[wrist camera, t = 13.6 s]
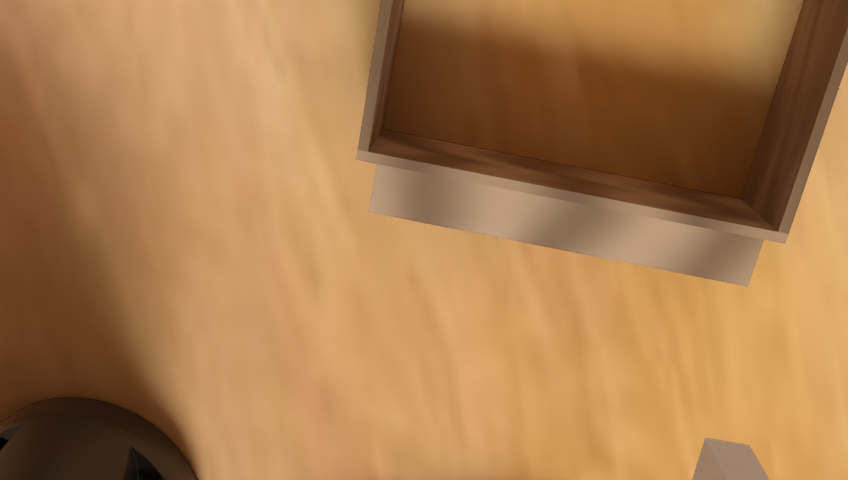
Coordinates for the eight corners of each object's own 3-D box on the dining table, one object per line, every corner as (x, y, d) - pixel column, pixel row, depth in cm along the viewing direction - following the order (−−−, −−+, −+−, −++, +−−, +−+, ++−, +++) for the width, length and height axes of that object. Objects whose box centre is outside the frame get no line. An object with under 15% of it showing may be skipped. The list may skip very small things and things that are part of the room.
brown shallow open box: (365, 179, 46) (348, 208, 40) (422, -170, 40) (412, -194, 34) (733, 251, 46) (768, 291, 40) (843, -90, 40) (903, -100, 34)
